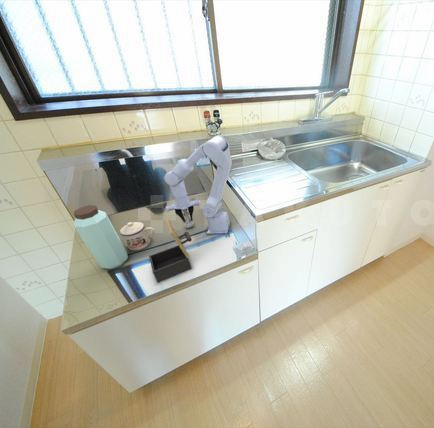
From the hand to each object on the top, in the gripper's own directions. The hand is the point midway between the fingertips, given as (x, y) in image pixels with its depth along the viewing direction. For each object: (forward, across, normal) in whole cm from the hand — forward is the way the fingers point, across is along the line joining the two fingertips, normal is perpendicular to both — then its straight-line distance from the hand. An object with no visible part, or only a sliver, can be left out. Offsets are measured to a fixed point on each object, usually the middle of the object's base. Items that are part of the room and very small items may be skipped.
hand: (188, 220), depth 112 cm
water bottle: (+4, -29, -13) cm, 32 cm away
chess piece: (+3, 0, 0) cm, 3 cm away
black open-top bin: (+4, -8, -26) cm, 27 cm away
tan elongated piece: (-9, -3, -25) cm, 27 cm away
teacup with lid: (+4, -20, -5) cm, 21 cm away
